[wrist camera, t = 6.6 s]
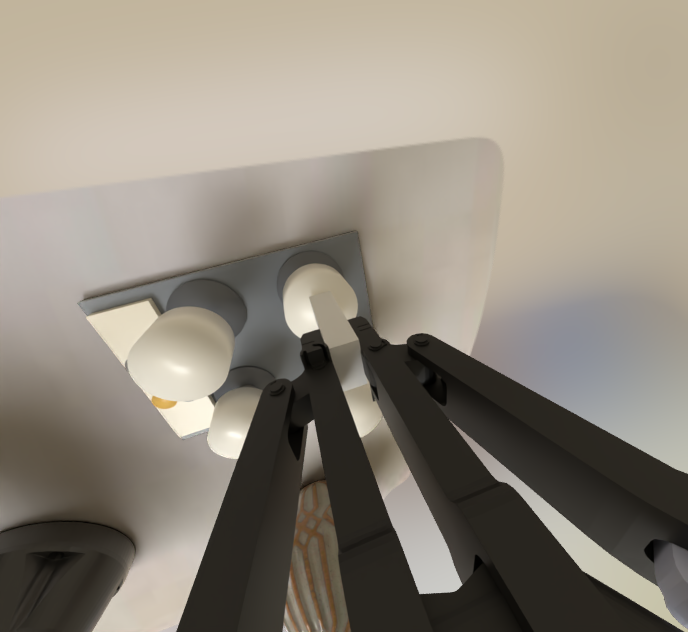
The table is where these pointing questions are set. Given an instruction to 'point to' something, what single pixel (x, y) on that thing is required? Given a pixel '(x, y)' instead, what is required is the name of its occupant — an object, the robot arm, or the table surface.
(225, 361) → the button
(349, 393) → the button
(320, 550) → the vase
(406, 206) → the table surface
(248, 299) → the board
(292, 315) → the button
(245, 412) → the button
